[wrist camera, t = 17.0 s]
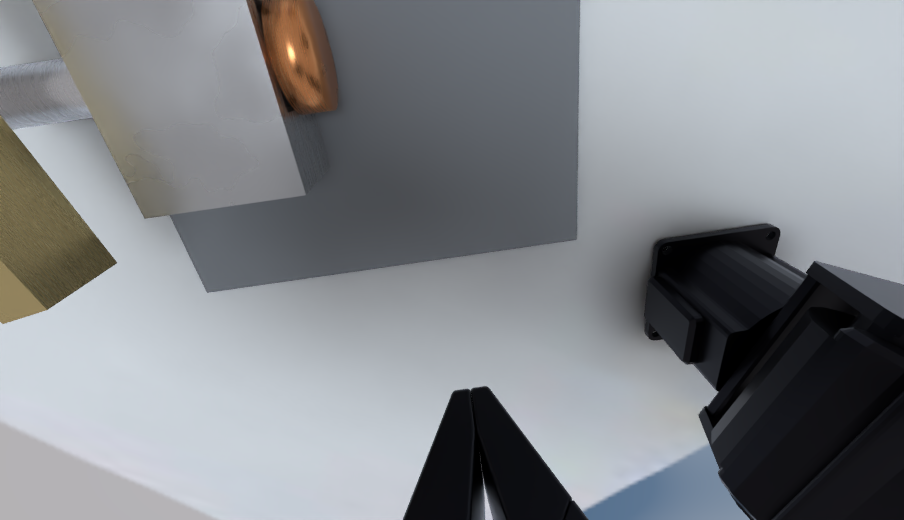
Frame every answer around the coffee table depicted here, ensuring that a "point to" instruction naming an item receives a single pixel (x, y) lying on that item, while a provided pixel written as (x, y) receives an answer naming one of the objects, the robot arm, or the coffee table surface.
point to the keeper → (39, 237)
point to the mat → (420, 145)
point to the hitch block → (187, 101)
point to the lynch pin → (289, 47)
